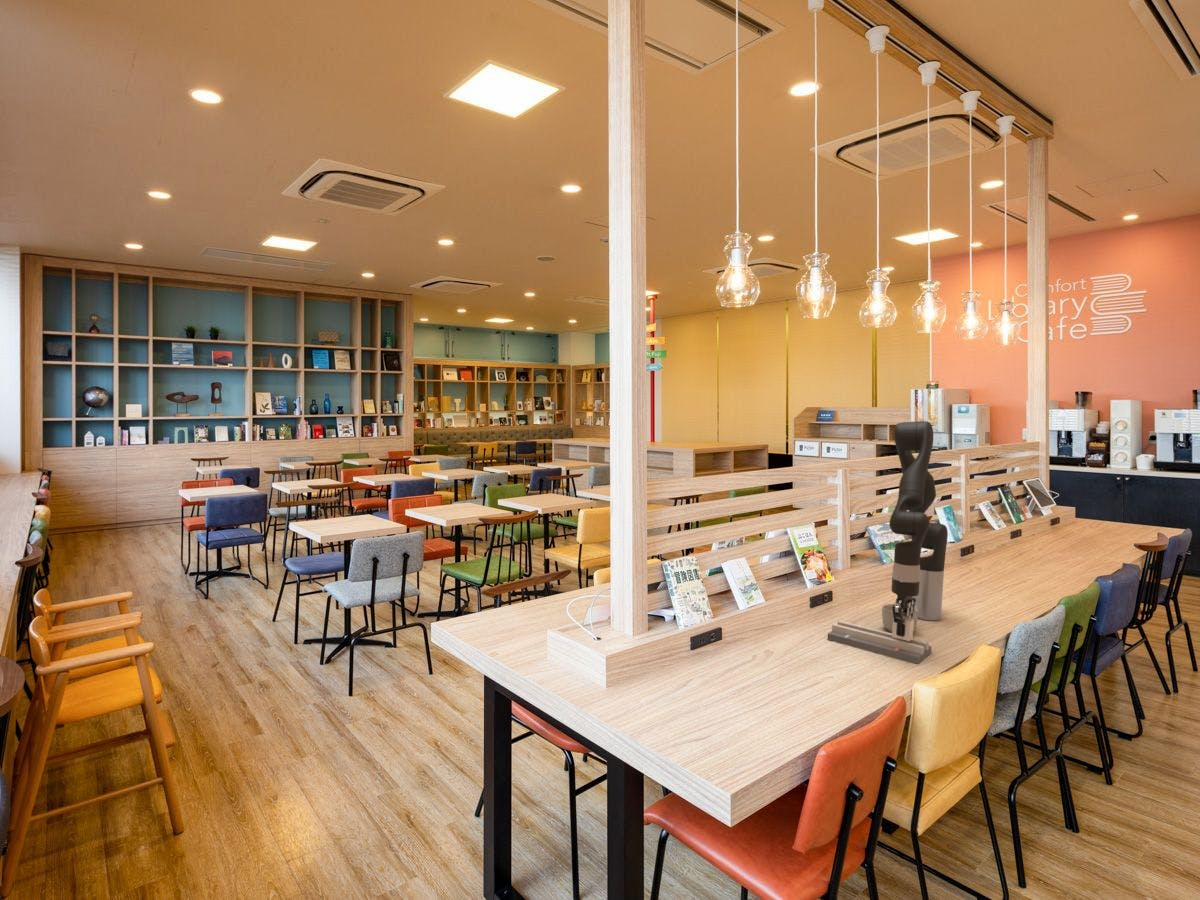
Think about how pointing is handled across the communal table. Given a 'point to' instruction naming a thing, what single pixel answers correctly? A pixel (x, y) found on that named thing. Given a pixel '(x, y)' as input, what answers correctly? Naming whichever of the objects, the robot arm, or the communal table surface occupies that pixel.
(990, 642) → the communal table surface
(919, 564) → the robot arm
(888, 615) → the teacup
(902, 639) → the fader
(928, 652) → the track
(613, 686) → the communal table surface
